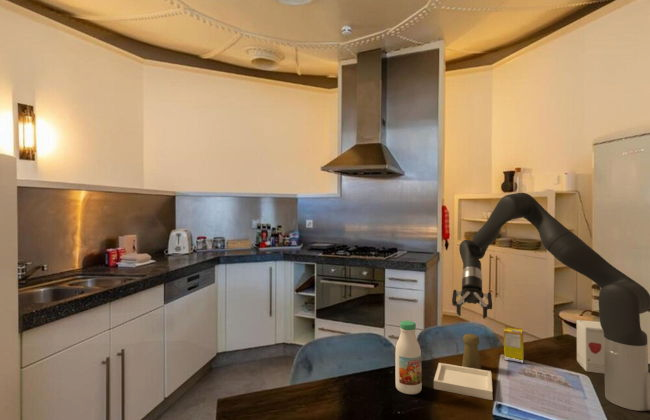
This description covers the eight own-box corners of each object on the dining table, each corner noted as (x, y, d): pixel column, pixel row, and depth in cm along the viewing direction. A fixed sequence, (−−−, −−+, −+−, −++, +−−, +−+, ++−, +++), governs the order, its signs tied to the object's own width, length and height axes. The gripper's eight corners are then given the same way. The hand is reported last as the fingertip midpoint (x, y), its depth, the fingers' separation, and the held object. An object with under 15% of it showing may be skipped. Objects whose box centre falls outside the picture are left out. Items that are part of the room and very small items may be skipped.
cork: (478, 372, 114) (478, 339, 114) (459, 367, 117) (459, 335, 118) (482, 366, 119) (482, 334, 119) (464, 361, 122) (464, 330, 123)
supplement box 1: (523, 358, 125) (523, 328, 125) (523, 364, 120) (522, 332, 120) (505, 354, 128) (505, 325, 128) (504, 360, 123) (503, 330, 123)
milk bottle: (390, 389, 103) (390, 322, 104) (403, 380, 109) (403, 317, 109) (413, 398, 98) (413, 328, 98) (426, 388, 104) (425, 322, 104)
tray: (491, 378, 109) (491, 371, 109) (492, 400, 96) (492, 391, 97) (439, 369, 116) (438, 362, 116) (433, 388, 103) (433, 380, 103)
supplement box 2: (585, 371, 114) (584, 326, 114) (576, 361, 122) (575, 319, 122) (619, 376, 111) (618, 329, 111) (607, 364, 119) (606, 321, 119)
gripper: (452, 273, 140) (450, 308, 129) (491, 276, 134) (492, 313, 123) (454, 284, 144) (452, 319, 134) (491, 287, 138) (492, 323, 128)
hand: (471, 316), depth 128 cm, fingers open, 8 cm apart
